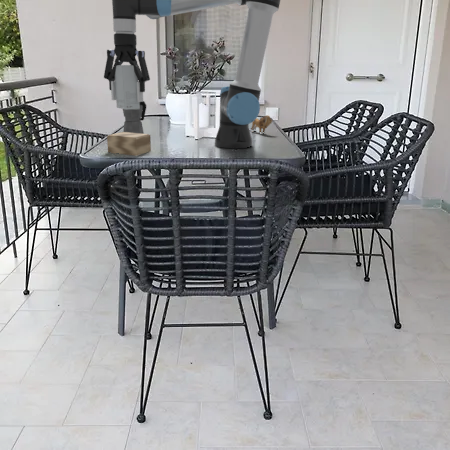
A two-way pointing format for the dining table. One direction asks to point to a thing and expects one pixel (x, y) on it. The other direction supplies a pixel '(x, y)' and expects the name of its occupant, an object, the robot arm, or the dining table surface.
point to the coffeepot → (134, 119)
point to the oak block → (129, 143)
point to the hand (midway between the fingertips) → (127, 100)
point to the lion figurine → (261, 123)
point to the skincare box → (126, 87)
